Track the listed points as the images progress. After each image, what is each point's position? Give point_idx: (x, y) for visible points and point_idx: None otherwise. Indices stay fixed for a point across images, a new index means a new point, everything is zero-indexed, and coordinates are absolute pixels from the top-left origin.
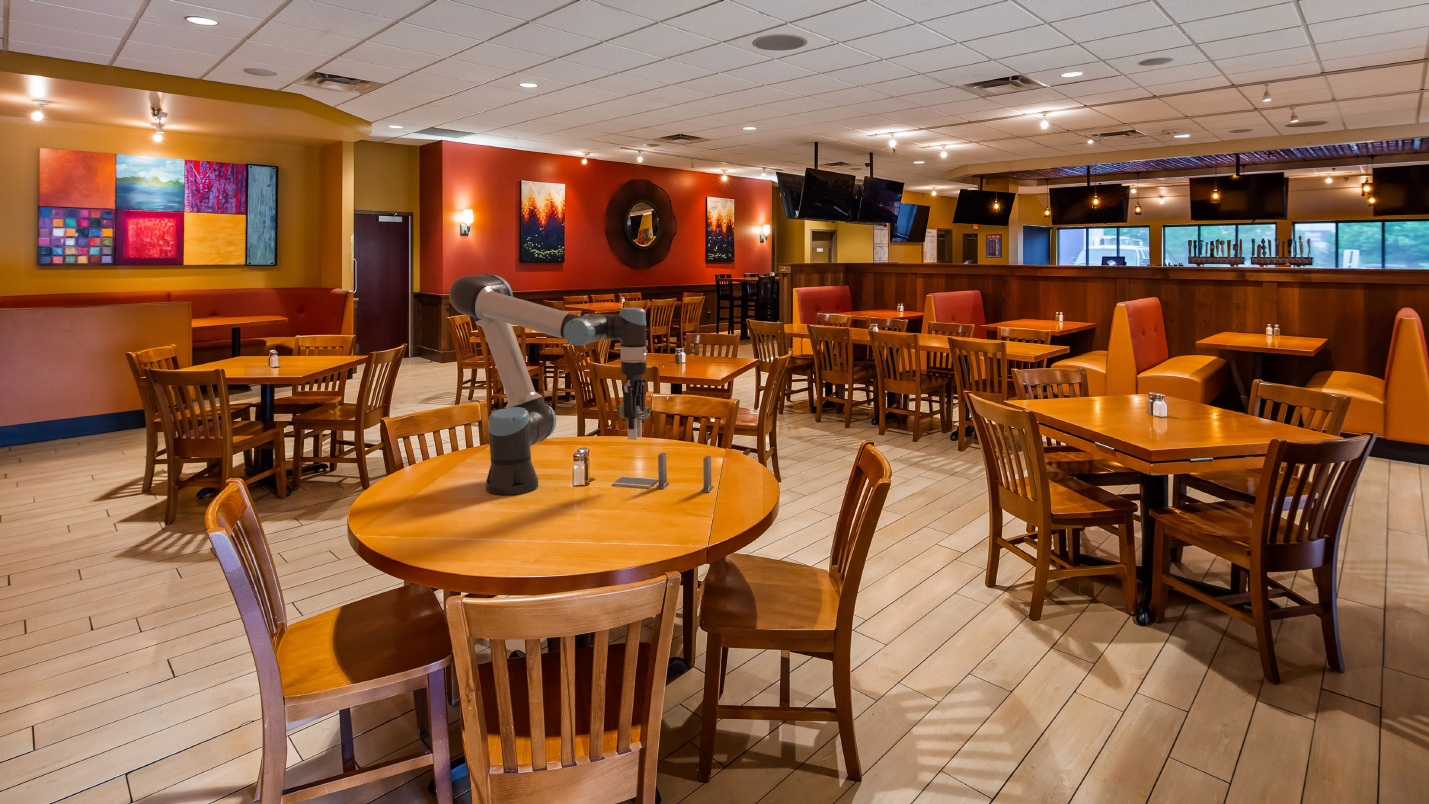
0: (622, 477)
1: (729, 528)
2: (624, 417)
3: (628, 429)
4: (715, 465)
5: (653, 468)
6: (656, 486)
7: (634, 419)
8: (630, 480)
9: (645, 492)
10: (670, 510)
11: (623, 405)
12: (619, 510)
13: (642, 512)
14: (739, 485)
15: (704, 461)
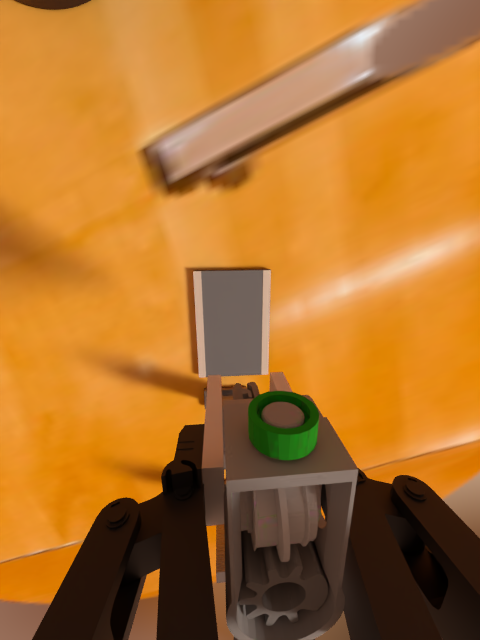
0: (257, 274)
1: (19, 583)
2: (167, 466)
3: (206, 411)
4: (419, 442)
5: (378, 315)
6: (204, 391)
7: (205, 507)
8: (235, 309)
9: (164, 377)
10: (63, 471)
11: (341, 478)
12: (5, 375)
13: (20, 427)
14: None
15: (216, 563)
